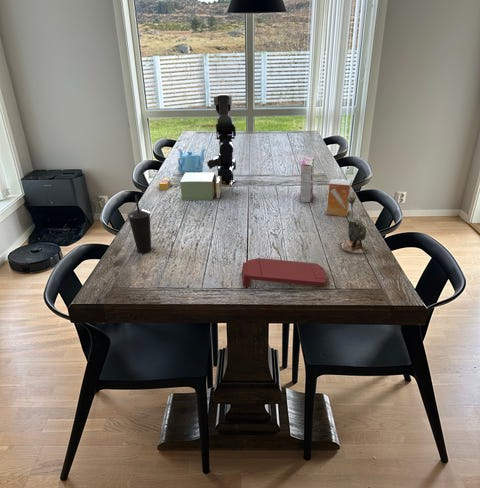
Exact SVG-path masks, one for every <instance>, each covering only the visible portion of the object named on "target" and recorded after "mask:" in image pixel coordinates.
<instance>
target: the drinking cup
mask: <svg viewBox="0 0 480 488" xmlns="http://www.w3.org/2000/svg"><path fill="white" fill-rule="evenodd" d="M134 198H135V204H136V209H133V210H132V211H129V212H128V213H127V216H126V217H127V218H128V220H129V225H130V229H131V232H132V236H133V240H134V244H135V247H136V251H137V253H139V254H148V253H150V252H151V251H152V234H151V233H152V232H151V211H150V210H148V209H143V208H140V204H139V199H138V195H137V194H135V195H134Z"/></svg>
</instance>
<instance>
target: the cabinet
mask: <svg viewBox="0 0 480 488" xmlns="http://www.w3.org/2000/svg"><path fill="white" fill-rule="evenodd" d="M214 175H216V172H213V171H211V172H209V171H208V172H207V171H206V172H203V171H202V172H197V173H183V175H182V177H181V180H180V182H179V183H180V194H181V200H182V201H211V200H212V201H213V200H214V198H215V195H214V196H213V190H212V181H213V178H214Z"/></svg>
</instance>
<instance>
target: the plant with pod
mask: <svg viewBox="0 0 480 488" xmlns="http://www.w3.org/2000/svg"><path fill="white" fill-rule="evenodd" d="M347 198H348V201H349V204H350V207H351V219H349V221H348V232H347V233H348V240H347V241H344V242H340V243H339V245H340V247H341V248H342V250H344V251H347V252H350V253H352V254H357V255H358V254H364V253H366V252H367V248H366V247H365V245H363V241H364V240H366V237H367V226H366V225H365V224H364V223H365V222H363V220H362V219H360V218H354V216H353V215H354V212H353V211H354V210H353V206H354V203H355V202H356V199H357V197H356V194H355V192H354V191H350V194H349V195H348V197H347ZM348 201H347V202H348Z"/></svg>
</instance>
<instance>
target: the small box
mask: <svg viewBox="0 0 480 488" xmlns="http://www.w3.org/2000/svg"><path fill="white" fill-rule="evenodd" d="M352 182H353V181H352V180H351V179H336V178H331V179H330V182H329V185H328V195H327V205H326V206H327V207H326V215H328V216H339V217H347V216H348V213H349V207H350V203H349V201H348V198H347V197H348V195H349V194H350V192H352V191H351V189H352ZM347 201H348V202H347Z"/></svg>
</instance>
